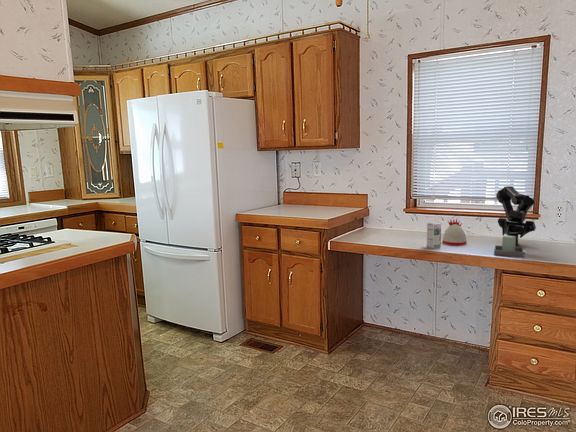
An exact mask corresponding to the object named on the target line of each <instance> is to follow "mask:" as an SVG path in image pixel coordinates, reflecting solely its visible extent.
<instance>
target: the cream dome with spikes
mask: <svg viewBox="0 0 576 432" xmlns="http://www.w3.org/2000/svg"><path fill="white" fill-rule="evenodd" d="M455 219H456V220H455ZM455 219H453V220H452V219H450V220H447V223H448V225H449V226H448V227H447V228H446V229H445V230H444V232H443V233H444V234H443V236H442V244H444V245H448V246H465V245H467V242H468V241H467V237H466V232H465V230H464V229H463V226H462V224H463V223H462V222H461V221H460V220H458V219H457V218H455ZM449 221H450V222H449ZM460 222H461V223H460Z"/></svg>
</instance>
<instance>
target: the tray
mask: <svg viewBox="0 0 576 432" xmlns="http://www.w3.org/2000/svg"><path fill="white" fill-rule="evenodd" d="M493 251H494V253H493V256H499V257H500V256H502V257H514V258H515V257H516V258H524V247H521V246H515V252H509V251H502V245H497V244H496V245H494V248H493Z"/></svg>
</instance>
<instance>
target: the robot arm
mask: <svg viewBox="0 0 576 432" xmlns="http://www.w3.org/2000/svg"><path fill="white" fill-rule="evenodd" d="M495 198H496V199H497V201H498V203H499V204H501V205H502V207H503V210H504V212H505V216H506V218H504V217H500V218H498V219H497V223H498V225H499V227H500V228H501V229H502V232H501V233H502V237H503V236H506V235H509V236H516V244H515V246H516V247H520V243H519V238H523V237H524V236H526V235H527V234H528V233H531V232H535V231H536V229H537V228H536V227H537V226H536V224H535V221H534V220H533V221H532V220H526V216H527V214H528V211H530V209H531V208H532V207H533V205H534V204H535V200H534V199H533V198H532V197H530V195H526V194H523V193H519V192H518V191H517V190H516V189H515V187H514V186H504V187H503V188H501V189H499V190H498V191H497V192H496V195H495ZM513 205H514V206H517V207H516V210H514V208H513Z"/></svg>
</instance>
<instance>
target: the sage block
mask: <svg viewBox="0 0 576 432" xmlns="http://www.w3.org/2000/svg"><path fill="white" fill-rule="evenodd" d="M501 244H502V245H501V246H502V251H509V252H515V247H516V245H515V244H516V236H509V235H506V234H505V235H504V236H503V235H502V243H501Z"/></svg>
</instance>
